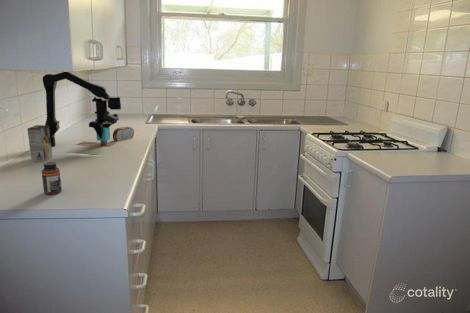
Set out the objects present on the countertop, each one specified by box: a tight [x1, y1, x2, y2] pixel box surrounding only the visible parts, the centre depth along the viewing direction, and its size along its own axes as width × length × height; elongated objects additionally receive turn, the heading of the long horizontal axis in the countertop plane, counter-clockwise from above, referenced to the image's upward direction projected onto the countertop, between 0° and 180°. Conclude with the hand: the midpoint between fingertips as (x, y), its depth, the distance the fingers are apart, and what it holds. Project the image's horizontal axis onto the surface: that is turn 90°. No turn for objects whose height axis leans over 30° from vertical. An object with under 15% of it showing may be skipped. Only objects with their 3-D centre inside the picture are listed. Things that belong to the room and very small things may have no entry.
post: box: [99, 140, 108, 145], centre depth 203 cm, size 3×3×7 cm
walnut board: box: [75, 141, 116, 148], centre depth 205 cm, size 9×20×1 cm, turn 82°
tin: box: [112, 126, 135, 142], centre depth 219 cm, size 15×3×8 cm, turn 150°
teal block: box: [95, 127, 111, 142], centre depth 203 cm, size 5×5×7 cm
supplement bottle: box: [41, 161, 63, 196], centre depth 133 cm, size 6×6×11 cm
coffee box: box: [27, 124, 53, 162], centre depth 175 cm, size 9×6×16 cm
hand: (103, 137), depth 203 cm, fingers closed on teal block, 5 cm apart
